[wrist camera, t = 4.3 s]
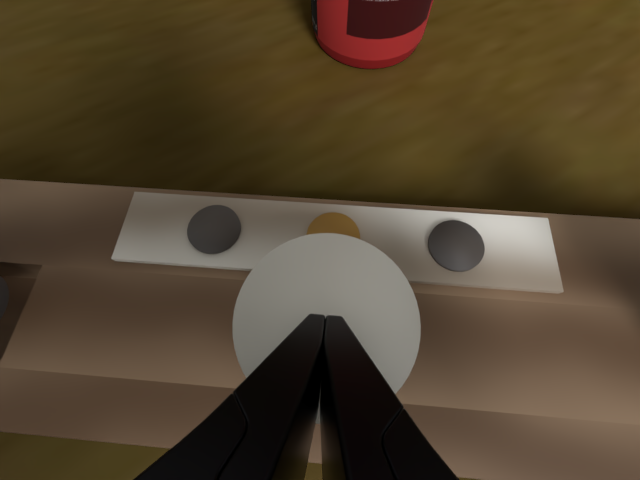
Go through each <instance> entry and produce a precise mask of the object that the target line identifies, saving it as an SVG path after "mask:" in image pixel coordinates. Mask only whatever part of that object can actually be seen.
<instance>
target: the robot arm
mask: <svg viewBox="0 0 640 480" xmlns="http://www.w3.org/2000/svg"><path fill="white" fill-rule="evenodd" d="M320 388H321V389H320ZM319 400H320V432H321V454H322V476H323V480H459V479H458V477H457V476H456V475H455V474H454V473H453V471H452V470H451V469H450V468H449V467H448V465H447V464H446V463H445V462H444V460H443V459H442V458H441V457H440V455H439V454H438V453H437V452H436V450H435V449H434V448H433V447H432V446H431V444H430V443H429V442H428V440H427V439H426V437H425V436H424V435H423V433H422V432H421V430H420V429H419V428H418V426H417V425H416V424H415V422H414V421H413V419H412V418H411V416H410V415H409V413H408V412H407V410H406V409H404V406H403V405H402V403H401V402H400V400H399V399H398V397H397V396H396V394H395V393H394V392H393V390H392V389H391V387H390V386H389V384H388V383H387V381H386V380H385V378H384V377H383V375H382V374H381V372H380V371H379V370H378V368H377V367H376V365H375V364H374V362H373V361H372V359H371V358H370V356H369V355H368V353H367V352H366V350H365V349H364V348H363V346H362V345H361V343H360V342H359V340H358V339H357V337H356V336H355V334H354V333H353V331H352V330H351V329H350V327H349V326H348V324H347V323H346V321H345V320H344V318H343V317H342V316H335V315H327V316H326V319H325V315H322V314H309V315H308V316H307V317H306V318H305V319H304V320H303V321H302V322H301V323H300V324H299V325H298V326H297V327H296V328H295V329H294V330H293V331H292V332H291V333H290V334H289V335H288V336H287V337H286V338H285V339H284V340H283V341H282V342H281V343H280V344H279V345H278V346H277V347H276V348H275V349H274V350H273V351H272V352H271V353H270V354H269V355H268V356H267V357H266V358H265V359H264V360H263V361H262V363H261V364H260V365H259V366H258V367H257V368H256V369H255V370H254V371H253V372H252V373H251V374H250V375H249V376H248V377H247V378H246V379H245V380H244V381H243V382H242V383H241V384H240V385H239V386H238V387H237V388H236V389H235V390H234V391H233V394H230V395H229V396H228V397H227V398H226V399H225V400H224V401H223V402H222V403H221V404H220V405H219V406H218V407H217V408H216V409H215V410H214V411H213V412H212V413H211V414H210V415H209V416H208V417H206V418H205V419H204V420H203V421H202V422H201V423H200V424H199V425H198V426H197V427H196V428H194V429H193V430H192V431H191V432H190V433H189V434H187V435H186V436H185V437H184V438H183V439H182V440H181V441H179V442H178V443H177V444H176V445H175V446H173V447H172V448H171V449H170V450H169V451H167V452H166V453H165V454H164V455H163V456H161V457H160V458H159V459H158V460H156V461H155V462H154V463H153V464H152V465H150V466H149V467H148V468H147V469H146V470H144V471H143V472H142V473H141V474H140V475H138V476H137V477H136V478H135V479H133V480H304V477H305V472H306V468H307V463H308V458H309V453H310V448H311V443H312V438H313V433H314V429H315V424H316V419H317V413H318V408H319Z"/></svg>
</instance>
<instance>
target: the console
mask: <svg viewBox="0 0 640 480" xmlns="http://www.w3.org/2000/svg"><path fill="white" fill-rule="evenodd" d="M317 233H335V234H343V235H347V236H351V237H355V238H357V239H360V240H363V241H365V242H367V243H369V244H371V245H373V246H375V247H376V248H377V249H379V250H380V251H382V252H383V253H385V254H386V255H387V256H388V257H389V258H390V259H391V260H392V261H393V262H394V263H395V264H396V265H397V266H398V267H399V268H400V270H401V271H402V273H403V274H404V275H405V277H406V278H407V280H408V282H409V284H410V286H411V288H412V290H413V292H414V295H415V298H416V300H417V304H418V309H419V313H420V323H421V335H420V344H419V350H418V354H417V357H416V360H415V364H414V366H413V368H412V370H411V372H410V374H409V376H408V378H407V379H406V381H405V383H404V384H403V386H402V387H401V388H400V389H399V391H398V392H397V393H396V396H397V397H398V399H399V400H400V402H401V403H402V405H403V406H404V409H406V410H407V412H408V413H409V415H410V416H411V418H412V419H413V421H414V422H415V424H416V425H417V426H418V428H419V429H420V430H421V432H422V433H423V435H424V436H425V437H426V439H427V440H428V442H429V443H430V444H431V446H432V447H433V448H434V449H435V450H436V452H437V453H438V454H439V455H440V457H441V458H442V459H443V460H444V462H445V463H446V464H447V465H448V467H449V468H450V469H451V470H452V471H453V473H454V474H455V475H456V476H457V477H463V478H473V479H483V480H640V219H629V218H614V217H598V216H582V215H566V214H550V213H534V212H518V211H502V210H486V209H471V208H455V207H439V206H423V205H407V204H391V203H375V202H359V201H343V200H328V199H312V198H296V197H280V196H264V195H248V194H232V193H216V192H200V191H185V190H169V189H153V188H137V187H121V186H105V185H89V184H73V183H57V182H42V181H26V180H10V179H0V276H1V277H2V278H3V279H4V280H5V282H6V283H7V286H8V289H9V300H8V304H7V307H6V310H5V312H4V314H3V316H2V317H1V319H0V432H9V433H20V434H30V435H40V436H50V437H60V438H70V439H80V440H90V441H100V442H110V443H120V444H130V445H140V446H150V447H160V448H172V447H173V446H175V445H176V444H177V443H178V442H179V441H181V440H182V439H183V438H184V437H185V436H186V435H187V434H189V433H190V432H191V431H192V430H193V429H194V428H196V427H197V426H198V425H199V424H200V423H201V422H202V421H203V420H204V419H205V418H206V417H208V416H209V415H210V414H211V413H212V412H213V411H214V410H215V409H216V408H217V407H218V406H219V405H220V404H221V403H222V402H223V401H224V400H225V399H226V398H227V397H228V396H229V395H230V394H233V391H234V390H235V389H236V388H237V387H238V386H239V385H240V384H241V383H242V382H243V381H244V380H245V379H246V377H245V375H244V373H243V371H242V369H241V367H240V364H239V362H238V359H237V355H236V352H235V348H234V342H233V314H234V308H235V304H236V300H237V297H238V295H239V292H240V290H241V287H242V285H243V283H244V282H245V280H246V278H247V276H248V275H249V273H250V272H251V271H252V269H253V268H254V267H255V266H256V265H257V263H258V262H259V261H260V260H261V259H262V258H263V257H265V256H266V255H267V254H268V253H269V252H270V251H272V250H273V249H275V248H276V247H278V246H279V245H281V244H283V243H285V242H287V241H289V240H292V239H295V238H298V237H301V236H305V235H309V234H317ZM308 462H311V463H322V454H321V432H320V424H315V429H314V433H313V438H312V443H311V448H310V453H309V458H308Z"/></svg>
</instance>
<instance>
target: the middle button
mask: <svg viewBox="0 0 640 480" xmlns="http://www.w3.org/2000/svg"><path fill="white" fill-rule="evenodd" d="M309 314H322V315H325V319H326V316H327V315H335V316H342V317H343V318H344V320H345V321H346V323H347V324H348V326H349V327H350V329H351V330H352V331H353V333H354V334H355V336H356V337H357V339H358V340H359V342H360V343H361V345H362V346H363V348H364V349H365V350H366V352H367V353H368V355H369V356H370V358H371V359H372V361H373V362H374V364H375V365H376V367H377V368H378V370H379V371H380V372H381V374H382V375H383V377H384V378H385V380H386V381H387V383H388V384H389V386H390V387H391V389H392V390H393V392H394V393H395V394H396V393H397V392H398V391H399V389H400V388H401V387H402V386H403V384H404V383H405V381H406V379H407V378H408V376H409V374H410V372H411V370H412V368H413V366H414V364H415V360H416V357H417V354H418V350H419V344H420V335H421V323H420V313H419V309H418V304H417V300H416V298H415V295H414V292H413V290H412V288H411V286H410V284H409V282H408V280H407V278H406V277H405V275H404V274H403V273H402V271H401V270H400V268H399V267H398V266H397V265H396V264H395V263H394V262H393V261H392V260H391V259H390V258H389V257H388V256H387V255H386V254H385V253H383V252H382V251H380V250H379V249H377V248H376V247H375V246H373V245H371V244H369V243H367V242H365V241H363V240H360V239H357V238H355V237H351V236H347V235H343V234H335V233H317V234H309V235H305V236H301V237H298V238H295V239H292V240H289V241H287V242H285V243H283V244H281V245H279V246H278V247H276V248H275V249H273V250H272V251H270V252H269V253H268V254H267V255H266V256H265V257H263V258H262V259H261V260H260V261H259V262H258V263H257V265H256V266H255V267H254V268H253V269H252V271H251V272H250V273H249V275H248V276H247V278H246V280H245V282H244V283H243V285H242V287H241V290H240V292H239V295H238V297H237V300H236V304H235V308H234V314H233V342H234V348H235V352H236V355H237V359H238V362H239V364H240V367H241V369H242V371H243V373H244V375H245V377H246V378H247V377H248V376H249V375H250V374H251V373H252V372H253V371H254V370H255V369H256V368H257V367H258V366H259V365H260V364H261V363H262V361H263V360H264V359H265V358H266V357H267V356H268V355H269V354H270V353H271V352H272V351H273V350H274V349H275V348H276V347H277V346H278V345H279V344H280V343H281V342H282V341H283V340H284V339H285V338H286V337H287V336H288V335H289V334H290V333H291V332H292V331H293V330H294V329H295V328H296V327H297V326H298V325H299V324H300V323H301V322H302V321H303V320H304V319H305V318H306V317H307V316H308V315H309ZM320 389H321V388H320ZM316 424H320V400H319V408H318V413H317V419H316Z"/></svg>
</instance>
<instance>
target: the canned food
mask: <svg viewBox="0 0 640 480" xmlns="http://www.w3.org/2000/svg"><path fill="white" fill-rule="evenodd" d="M432 3H433V0H311V8H312V25H313V29H314V32H315V35H316V38H317V41H318V43H319V44H320V46H321V48H322V49H323V50H324V51H325V52H326V53H327V54H328V55H329V56H331V57H332V58H334V59H335V60H337V61H339V62H341V63H343V64H346V65H349V66H352V67H358V68H363V69H376V68H385V67H389V66H392V65H395V64H397V63H399V62H402V61H403V60H405V59H406V58H407V57H409V56H410V55H411V54H412V52H413V51H414V50H415V48H416V47H417V45H418V44H419V42H420V41H421V38H422V36H423V34H424V31H425V28H426V24H427V20H428V17H429V13H430V10H431V6H432Z"/></svg>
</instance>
